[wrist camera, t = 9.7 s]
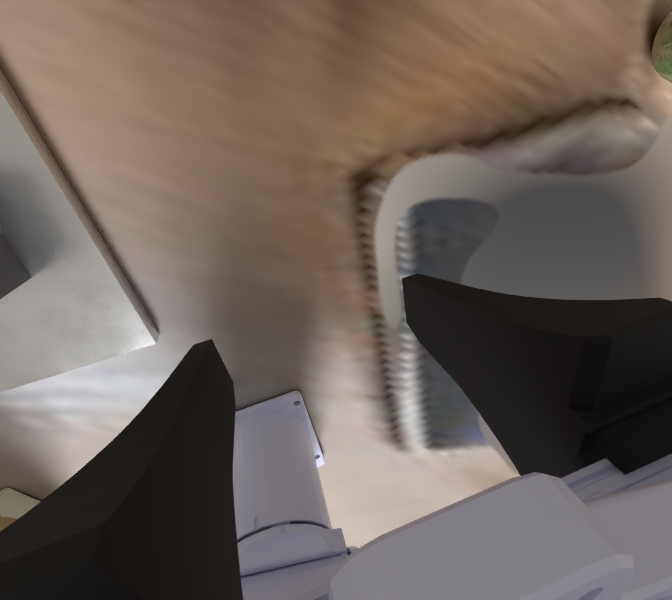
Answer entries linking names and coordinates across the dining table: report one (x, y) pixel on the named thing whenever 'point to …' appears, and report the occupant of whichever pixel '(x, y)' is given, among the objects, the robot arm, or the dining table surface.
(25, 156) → the shaft plate
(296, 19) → the dining table surface
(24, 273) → the hollow square box
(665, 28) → the vegetable
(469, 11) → the dining table surface
